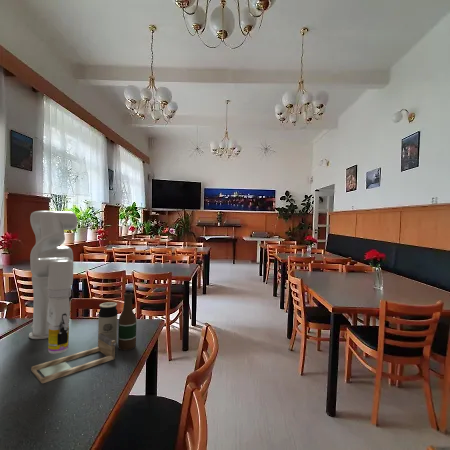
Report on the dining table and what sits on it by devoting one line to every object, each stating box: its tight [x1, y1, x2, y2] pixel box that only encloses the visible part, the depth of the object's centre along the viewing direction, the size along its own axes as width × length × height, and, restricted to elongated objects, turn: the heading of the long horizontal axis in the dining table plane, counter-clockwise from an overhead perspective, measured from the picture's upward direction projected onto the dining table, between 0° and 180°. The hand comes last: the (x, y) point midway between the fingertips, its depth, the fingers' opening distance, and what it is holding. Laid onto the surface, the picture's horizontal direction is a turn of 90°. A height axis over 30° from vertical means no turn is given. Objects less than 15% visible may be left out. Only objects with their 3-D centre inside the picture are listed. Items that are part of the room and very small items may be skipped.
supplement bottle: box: [47, 323, 70, 355], centre depth 110 cm, size 7×7×13 cm
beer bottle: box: [117, 292, 137, 351], centre depth 132 cm, size 8×8×24 cm
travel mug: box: [97, 301, 119, 344], centre depth 135 cm, size 8×8×18 cm
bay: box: [30, 332, 117, 384], centre depth 115 cm, size 27×14×7 cm, turn 138°
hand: (58, 340), depth 110 cm, fingers closed on supplement bottle, 6 cm apart
